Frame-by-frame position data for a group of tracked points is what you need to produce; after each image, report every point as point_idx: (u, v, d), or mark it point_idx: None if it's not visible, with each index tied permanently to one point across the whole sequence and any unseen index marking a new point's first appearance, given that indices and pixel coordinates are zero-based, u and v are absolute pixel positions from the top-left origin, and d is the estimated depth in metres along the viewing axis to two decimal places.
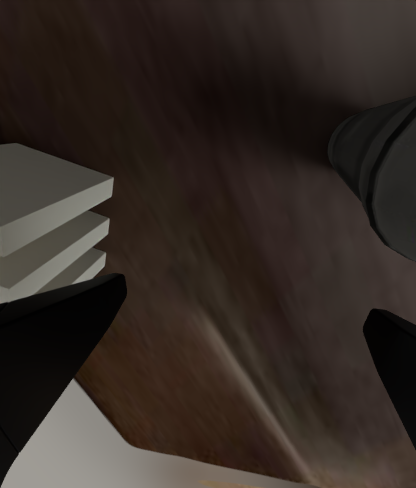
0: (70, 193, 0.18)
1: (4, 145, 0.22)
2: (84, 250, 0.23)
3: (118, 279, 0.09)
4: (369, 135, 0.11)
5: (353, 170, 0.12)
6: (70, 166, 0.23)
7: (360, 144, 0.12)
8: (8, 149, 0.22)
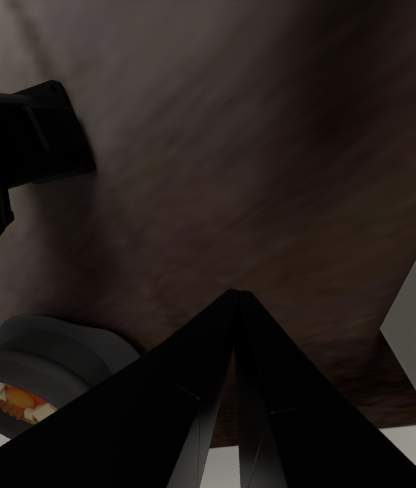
0: None
1: (388, 339, 0.22)
2: None
3: (239, 296, 0.08)
4: None
5: None
6: (414, 282, 0.19)
7: None
8: (394, 337, 0.21)
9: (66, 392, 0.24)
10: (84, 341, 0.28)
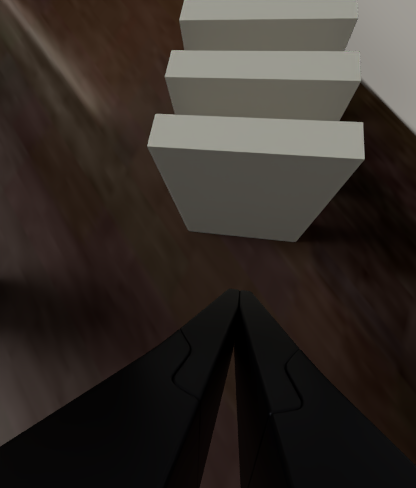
0: (179, 203, 0.18)
1: (297, 236, 0.21)
2: None
3: (239, 296, 0.08)
4: None
5: None
6: (227, 231, 0.22)
7: None
8: (287, 233, 0.20)
9: None
10: None
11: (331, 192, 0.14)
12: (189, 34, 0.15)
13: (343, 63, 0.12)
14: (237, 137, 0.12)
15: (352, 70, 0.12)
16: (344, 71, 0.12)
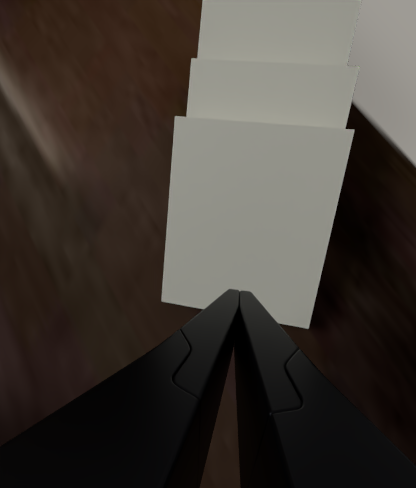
0: (172, 219, 0.16)
1: (309, 306, 0.15)
2: None
3: (239, 296, 0.08)
4: None
5: None
6: (215, 298, 0.16)
7: None
8: (296, 297, 0.15)
9: None
10: None
11: (336, 186, 0.14)
12: (210, 1, 0.16)
13: None
14: None
15: None
16: None
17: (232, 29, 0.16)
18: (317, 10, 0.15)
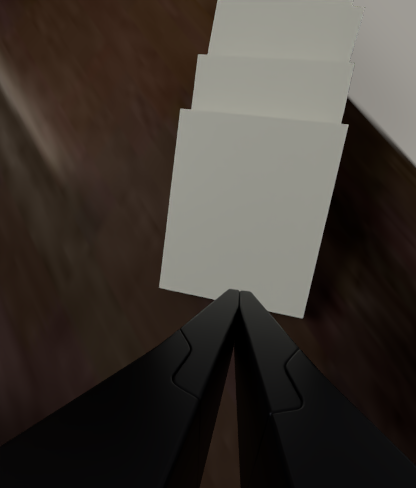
0: (173, 206, 0.16)
1: (304, 295, 0.16)
2: None
3: (239, 296, 0.08)
4: None
5: None
6: (212, 285, 0.17)
7: None
8: (291, 286, 0.16)
9: None
10: None
11: (331, 178, 0.14)
12: (223, 6, 0.17)
13: None
14: None
15: None
16: None
17: (241, 32, 0.17)
18: (321, 22, 0.17)
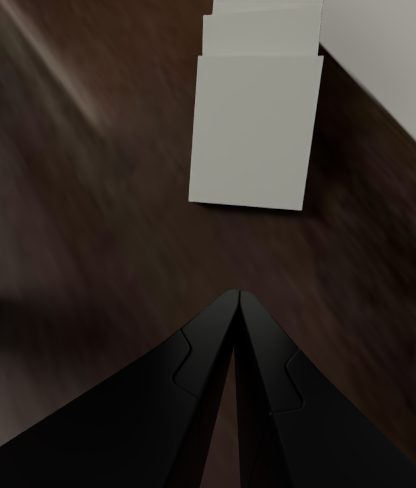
0: (196, 133, 0.21)
1: (301, 191, 0.21)
2: None
3: (239, 296, 0.08)
4: None
5: None
6: (230, 193, 0.22)
7: None
8: (291, 185, 0.21)
9: None
10: None
11: (314, 97, 0.19)
12: None
13: None
14: None
15: None
16: None
17: None
18: None
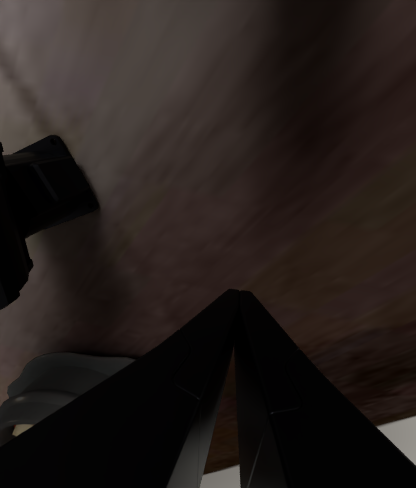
0: None
1: None
2: None
3: (239, 296, 0.08)
4: None
5: None
6: None
7: None
8: None
9: None
10: (106, 371, 0.29)
11: None
12: None
13: None
14: None
15: None
16: None
17: None
18: None
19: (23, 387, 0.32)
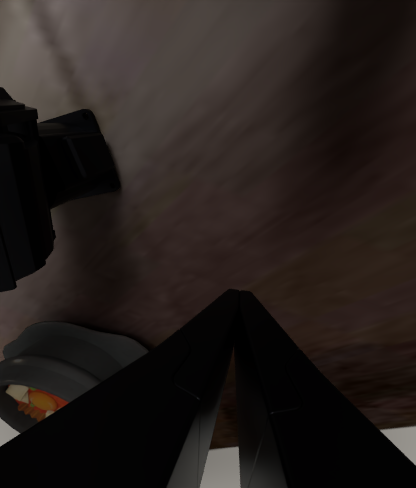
0: None
1: None
2: None
3: (239, 296, 0.08)
4: None
5: None
6: None
7: None
8: None
9: None
10: (102, 346, 0.30)
11: None
12: None
13: None
14: None
15: None
16: None
17: None
18: None
19: (19, 349, 0.33)
